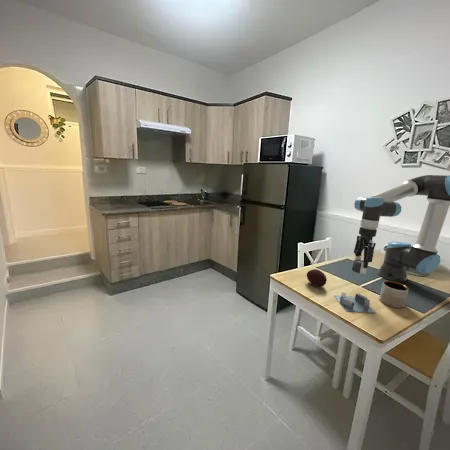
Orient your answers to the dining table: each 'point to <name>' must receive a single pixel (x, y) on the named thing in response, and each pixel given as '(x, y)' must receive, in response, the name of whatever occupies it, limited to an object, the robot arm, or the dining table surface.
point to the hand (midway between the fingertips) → (359, 270)
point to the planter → (394, 294)
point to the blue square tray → (355, 303)
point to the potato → (316, 277)
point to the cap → (357, 266)
